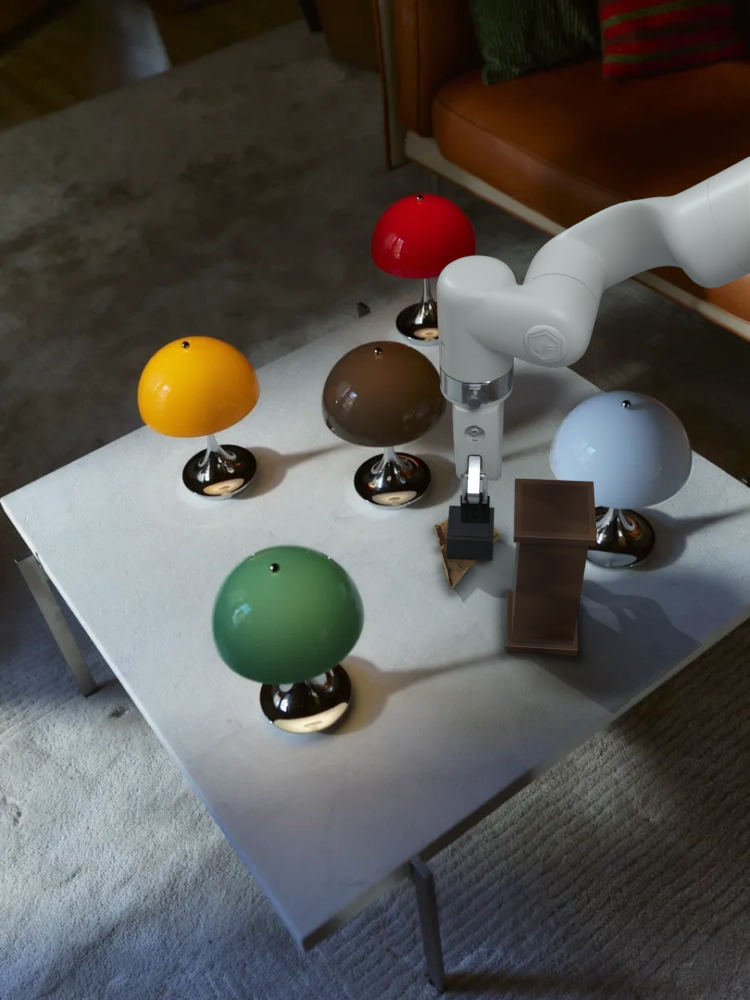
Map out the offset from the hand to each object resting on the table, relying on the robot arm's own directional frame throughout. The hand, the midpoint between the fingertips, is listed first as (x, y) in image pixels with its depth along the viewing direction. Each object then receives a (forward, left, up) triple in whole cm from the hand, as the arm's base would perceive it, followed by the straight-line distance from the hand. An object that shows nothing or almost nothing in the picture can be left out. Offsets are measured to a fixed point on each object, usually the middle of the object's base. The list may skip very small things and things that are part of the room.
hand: (477, 490), depth 109 cm
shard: (+1, 0, -11) cm, 11 cm away
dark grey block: (+1, 0, -9) cm, 9 cm away
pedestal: (-8, +10, -11) cm, 17 cm away
